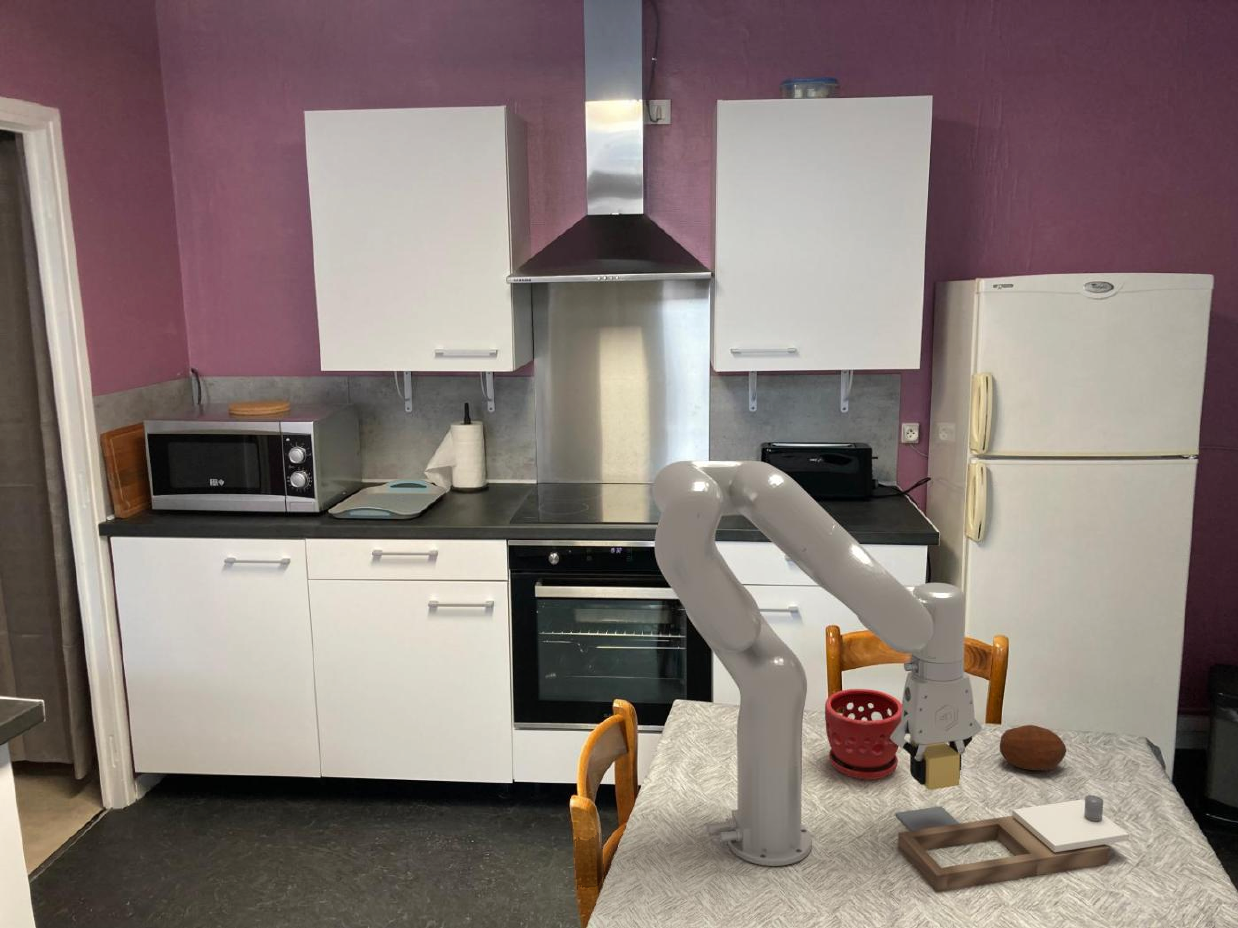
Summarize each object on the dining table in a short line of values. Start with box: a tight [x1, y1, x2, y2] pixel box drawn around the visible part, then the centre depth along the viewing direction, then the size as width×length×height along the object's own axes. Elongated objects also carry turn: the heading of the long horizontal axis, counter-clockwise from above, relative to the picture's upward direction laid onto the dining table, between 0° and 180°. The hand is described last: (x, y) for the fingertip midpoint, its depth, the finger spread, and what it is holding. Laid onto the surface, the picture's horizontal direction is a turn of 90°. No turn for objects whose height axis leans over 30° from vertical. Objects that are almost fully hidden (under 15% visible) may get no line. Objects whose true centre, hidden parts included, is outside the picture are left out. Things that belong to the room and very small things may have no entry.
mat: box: [894, 805, 960, 831], centre depth 150 cm, size 8×8×1 cm
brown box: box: [897, 815, 1110, 893], centre depth 142 cm, size 27×11×2 cm, turn 102°
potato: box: [999, 724, 1067, 771], centre depth 167 cm, size 8×11×8 cm
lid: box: [1011, 794, 1130, 852], centre depth 143 cm, size 12×10×4 cm
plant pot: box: [824, 688, 902, 780], centre depth 168 cm, size 13×13×12 cm
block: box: [923, 742, 960, 791], centre depth 149 cm, size 5×5×5 cm
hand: (935, 776), depth 149 cm, fingers closed on block, 5 cm apart
